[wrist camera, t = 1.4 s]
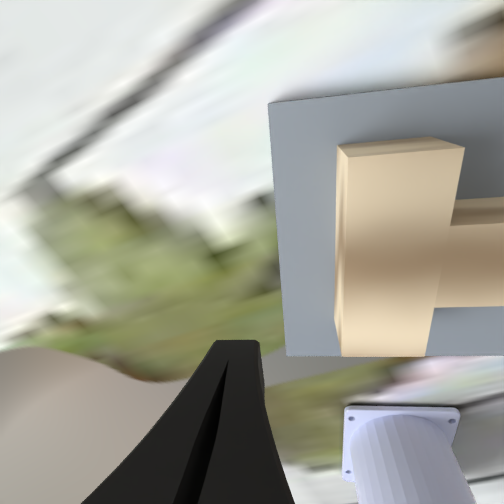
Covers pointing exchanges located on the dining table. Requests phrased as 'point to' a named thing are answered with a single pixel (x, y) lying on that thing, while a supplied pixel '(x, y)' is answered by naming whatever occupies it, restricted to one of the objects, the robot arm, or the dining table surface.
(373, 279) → the t block
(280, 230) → the board
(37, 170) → the dining table surface
